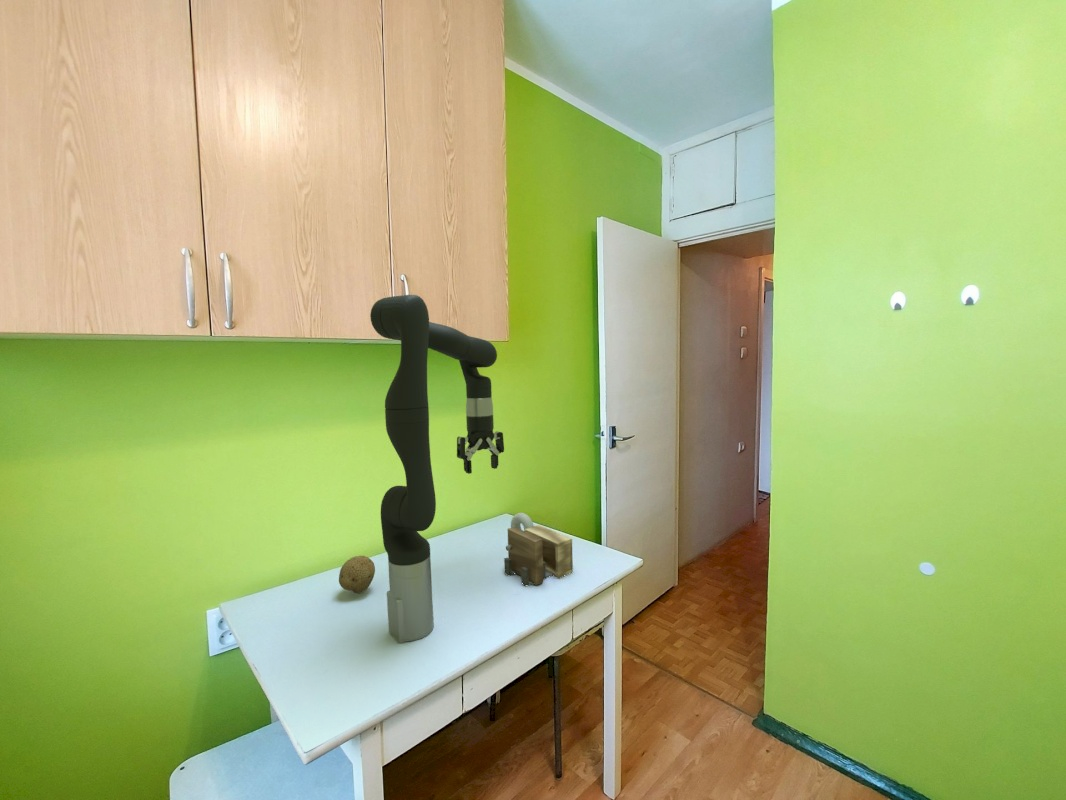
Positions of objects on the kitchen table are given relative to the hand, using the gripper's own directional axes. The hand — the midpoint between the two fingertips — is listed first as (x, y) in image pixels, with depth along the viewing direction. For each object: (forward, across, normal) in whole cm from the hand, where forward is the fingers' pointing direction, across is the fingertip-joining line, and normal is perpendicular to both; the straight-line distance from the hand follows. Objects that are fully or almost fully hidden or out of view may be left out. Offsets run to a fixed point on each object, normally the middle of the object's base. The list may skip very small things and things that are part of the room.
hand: (481, 470), depth 131 cm
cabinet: (+30, +11, -9) cm, 33 cm away
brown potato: (+30, -32, +13) cm, 46 cm away
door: (+30, +7, -10) cm, 32 cm away
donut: (+30, +22, +11) cm, 39 cm away
